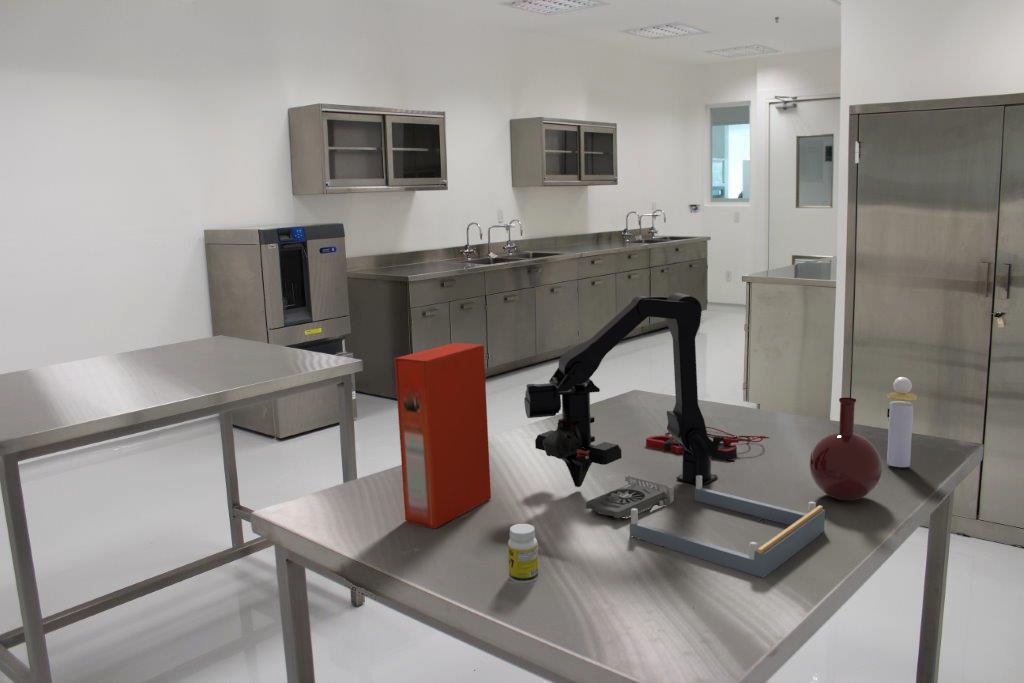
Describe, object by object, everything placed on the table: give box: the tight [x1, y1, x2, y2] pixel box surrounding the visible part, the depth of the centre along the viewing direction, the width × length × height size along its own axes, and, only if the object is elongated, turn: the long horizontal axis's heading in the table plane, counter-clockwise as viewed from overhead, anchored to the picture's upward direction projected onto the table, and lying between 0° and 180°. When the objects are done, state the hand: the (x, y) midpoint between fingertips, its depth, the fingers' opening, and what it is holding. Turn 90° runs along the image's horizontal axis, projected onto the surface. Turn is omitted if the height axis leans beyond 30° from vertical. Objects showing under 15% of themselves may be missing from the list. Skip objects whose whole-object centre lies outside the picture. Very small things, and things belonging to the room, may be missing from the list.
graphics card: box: [585, 475, 675, 519], centre depth 160 cm, size 17×4×12 cm
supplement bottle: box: [507, 523, 539, 584], centre depth 131 cm, size 5×5×8 cm
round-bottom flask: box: [808, 397, 883, 501], centre depth 159 cm, size 13×13×20 cm
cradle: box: [629, 475, 826, 579], centre depth 145 cm, size 23×26×5 cm
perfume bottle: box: [886, 376, 918, 468], centre depth 175 cm, size 6×6×20 cm
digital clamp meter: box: [645, 426, 771, 461], centre depth 198 cm, size 23×4×25 cm
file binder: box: [394, 342, 492, 529], centre depth 158 cm, size 8×17×32 cm, turn 145°
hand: (578, 486), depth 169 cm, fingers closed
